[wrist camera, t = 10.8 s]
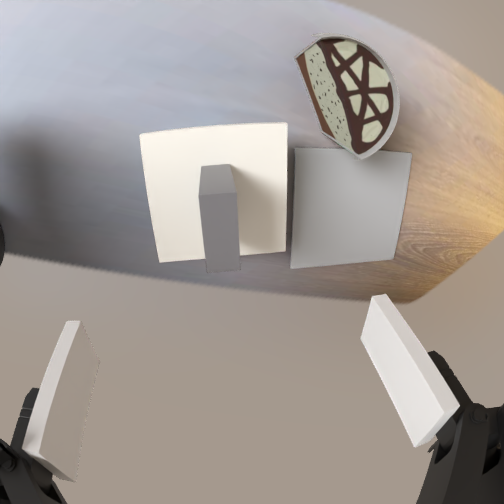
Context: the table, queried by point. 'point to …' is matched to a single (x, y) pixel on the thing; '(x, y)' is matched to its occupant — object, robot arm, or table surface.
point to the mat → (346, 206)
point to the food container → (350, 92)
